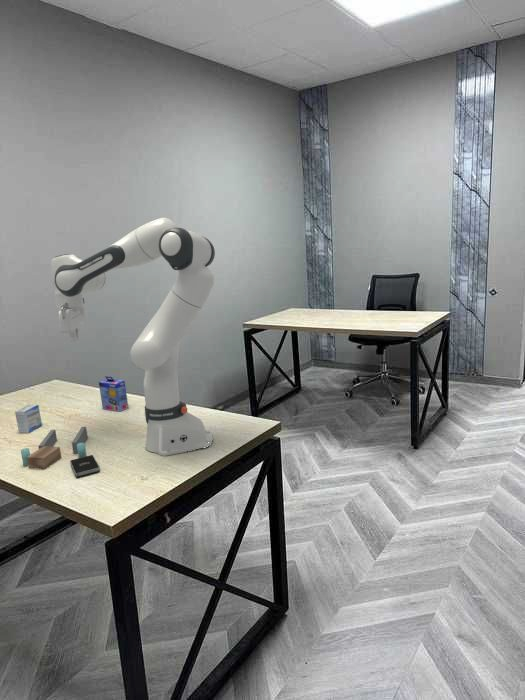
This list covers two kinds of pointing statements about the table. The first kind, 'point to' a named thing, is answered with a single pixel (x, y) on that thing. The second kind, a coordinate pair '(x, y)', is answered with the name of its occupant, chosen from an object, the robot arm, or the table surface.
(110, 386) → the ink cartridge box
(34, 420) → the medicine box
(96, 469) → the external hard drive
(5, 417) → the table surface
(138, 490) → the table surface
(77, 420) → the table surface
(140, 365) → the robot arm
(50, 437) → the channel walls
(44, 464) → the walnut block
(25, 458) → the posts
